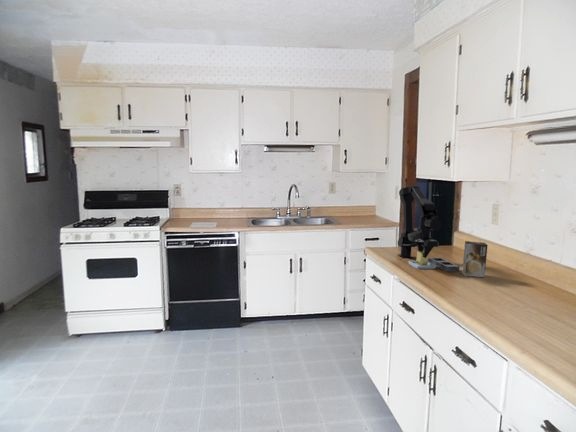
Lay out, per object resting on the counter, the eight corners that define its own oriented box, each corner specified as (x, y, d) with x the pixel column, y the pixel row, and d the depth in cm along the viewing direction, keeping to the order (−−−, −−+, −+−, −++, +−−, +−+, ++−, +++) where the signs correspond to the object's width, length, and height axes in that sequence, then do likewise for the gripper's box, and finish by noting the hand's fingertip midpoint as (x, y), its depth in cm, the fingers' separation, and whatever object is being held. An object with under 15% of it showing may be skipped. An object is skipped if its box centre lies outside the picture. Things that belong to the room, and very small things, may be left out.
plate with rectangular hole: (428, 262, 213) (428, 257, 213) (440, 262, 215) (440, 257, 214) (446, 271, 196) (446, 266, 196) (459, 271, 197) (459, 266, 197)
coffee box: (481, 274, 194) (485, 242, 191) (484, 277, 188) (488, 245, 185) (461, 272, 196) (464, 240, 194) (464, 275, 190) (467, 243, 187)
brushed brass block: (423, 263, 207) (424, 251, 206) (427, 266, 203) (428, 252, 202) (416, 263, 206) (417, 251, 205) (419, 266, 202) (421, 252, 201)
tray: (408, 263, 208) (408, 260, 208) (425, 263, 210) (426, 260, 210) (417, 268, 199) (417, 266, 198) (435, 268, 200) (435, 265, 200)
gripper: (402, 223, 209) (400, 252, 211) (419, 230, 191) (416, 261, 193) (421, 223, 211) (419, 252, 213) (440, 230, 193) (437, 261, 195)
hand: (422, 256), depth 204 cm, fingers open, 5 cm apart
